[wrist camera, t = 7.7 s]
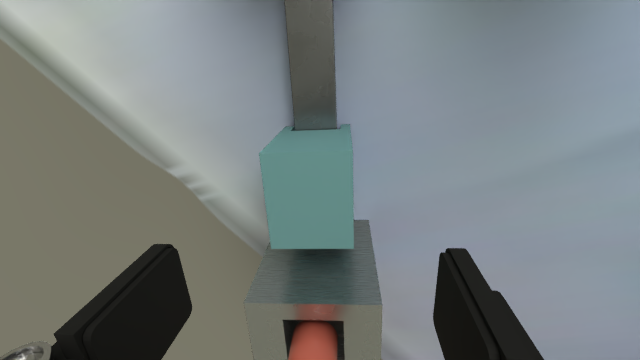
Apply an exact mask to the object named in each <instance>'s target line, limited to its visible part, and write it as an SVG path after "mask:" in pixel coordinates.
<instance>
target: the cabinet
mask: <svg viewBox="0 0 640 360" xmlns="http://www.w3.org/2000/svg"><path fill="white" fill-rule="evenodd" d="M244 308H245V313H246V319H247V324H248V330H249V336H250V341H251V347H252V353H253V358H254V360H288V357H289V352H290V347H291V341H292V336H293V331H294V328H295V327H296V325H297V324H299V323H300V322H302V321H304V320H323V321H326V322H328V323H329V324H331V325H332V326H333V327H334V328H335V330H336V332H337V335H338V347H337V360H381V333H382V300H381V294H380V288H379V282H378V276H377V270H376V263H375V257H374V251H373V245H372V239H371V233H370V226H369V220H354V249H271V243H270V242H269V245H268V247H267V249H266V252H265V254H264V257H263V259H262V261H261V264H260V266H259V268H258V271H257V273H256V275H255V278H254V280H253V282H252V285H251V287H250V290H249V292H248V294H247V297H246V299H245V301H244Z"/></svg>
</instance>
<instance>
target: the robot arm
mask: <svg viewBox="0 0 640 360" xmlns="http://www.w3.org/2000/svg"><path fill="white" fill-rule="evenodd" d="M191 311H192V304H191V300H190V296H189V293H188V289H187V285H186V281H185V277H184V273H183V269H182V265H181V261H180V258H179V254H178V251H177V249H175V248H174V247H173V246H172V245H171V244H154V245H153V246H151V247H150V248H149V249H148V250H147V251H146V252H145V253H143V254H142V255H141V256H140V257H139V258H138V259H137V260H136V261H134V262H133V263H132V264H131V265H130V266H129V267H128V268H127V269H126V270H125V271H123V272H122V273H121V274H120V275H119V276H118V277H117V278H116V279H114V280H113V281H112V282H111V283H110V284H109V285H108V286H107V287H105V288H104V289H103V290H102V291H101V292H100V293H99V294H98V295H97V296H95V297H94V298H93V299H92V300H91V301H90V302H89V303H88V304H87V305H85V306H84V307H83V308H82V309H81V310H80V311H79V312H78V313H76V314H75V315H74V316H73V317H72V318H71V319H70V320H69V321H68V322H66V323H65V324H64V325H63V326H62V327H61V328H60V329H59V330H57V331H56V332H55V333H54V336H55V338H56V340H57V342H56V343H55V344H54V345H53V346H52V347H51V345H50V344H49V343H47V342H43V341H38V342H31V343H28V344H25V345H22V346H20V347H18V348H15V349H13V350H11V351H9V352H8V353H6V354H4V355H3V356H1V357H0V360H161V359H162V358H163V356H164V355H165V353H166V351H167V350H168V348H169V347H170V345H171V344H172V342H173V341H174V339H175V338H176V336H177V334H178V333H179V332H180V330H181V329H182V327H183V325H184V324H185V322H186V321H187V319H188V318H189V316H190V314H191ZM433 320H434V326H435V329H436V333H437V336H438V339H439V342H440V345H441V349H442V352H443V355H444V358H445V360H544V359H543V357H542V356H541V354H540V353H539V351H538V350H537V348H536V347H535V345H534V344H533V342H532V340H531V339H530V337H529V336H528V334H527V333H526V331H525V330H524V328H523V327H522V325H521V324H520V322H519V320H518V319H517V317H516V316H515V314H514V313H513V311H512V310H511V308H510V307H509V305H508V303H507V302H506V300H505V299H504V297H503V296H502V295H501V293H500V292H498V291H492V290H491V289H490V287H489V285H488V284H487V282H486V280H485V279H484V277H483V276H482V274H481V272H480V271H479V269H478V267H477V266H476V264H475V263H474V261H473V259H472V258H471V256H470V254H469V253H468V251H467V250H466V249H462V248H447V249H446V252H445V253H440V257H439V267H438V276H437V285H436V295H435V304H434V313H433Z"/></svg>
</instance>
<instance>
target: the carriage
mask: <svg viewBox="0 0 640 360" xmlns="http://www.w3.org/2000/svg"><path fill="white" fill-rule="evenodd" d="M259 157H260V165H261V172H262V180H263V188H264V196H265V204H266V212H267V220H268V228H269V236H270V243H271V249H354V220H353V150H352V141H351V131H350V124H345V125H341V127H340V129H331V130H304V131H295V127H294V126H292V127H285V128H284V129H283V130H282V131H281V132H280V133H279V134H278V135H277V136H276V137H275V138H274V139H273V140H272V141H271V142H270V143H269V144H268V145H267V146H266V147H265V148H264V149H263V150H262V151H261V152H260V153H259Z"/></svg>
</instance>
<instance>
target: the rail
mask: <svg viewBox="0 0 640 360" xmlns="http://www.w3.org/2000/svg"><path fill="white" fill-rule="evenodd" d="M285 12H286V24H287V36H288V49H289V61H290V74H291V86H292V98H293V111H294V123H295V131H304V130H331V129H337V113H336V81H335V49H334V17H333V0H285Z"/></svg>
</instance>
